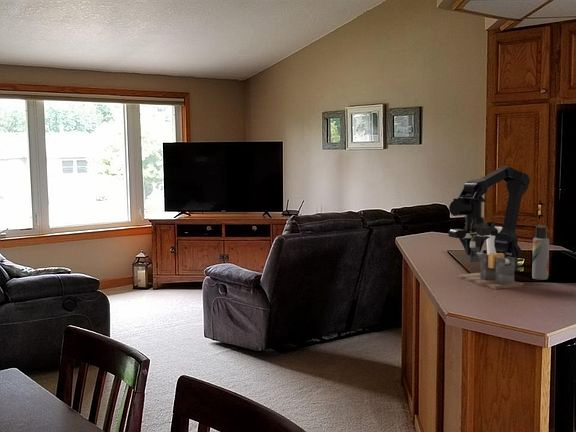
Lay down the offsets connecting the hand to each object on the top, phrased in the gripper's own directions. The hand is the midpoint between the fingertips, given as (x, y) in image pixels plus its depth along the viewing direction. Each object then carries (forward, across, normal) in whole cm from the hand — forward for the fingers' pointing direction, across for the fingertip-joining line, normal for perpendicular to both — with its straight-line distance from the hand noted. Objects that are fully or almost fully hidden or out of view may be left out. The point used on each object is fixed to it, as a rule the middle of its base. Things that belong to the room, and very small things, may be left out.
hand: (473, 254), depth 249 cm
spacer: (+2, 0, -14) cm, 14 cm away
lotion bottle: (+9, +21, -13) cm, 26 cm away
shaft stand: (+8, 0, -10) cm, 13 cm away
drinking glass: (+9, +28, +24) cm, 38 cm away
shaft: (+2, 0, -10) cm, 10 cm away
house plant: (+9, +35, +44) cm, 57 cm away
